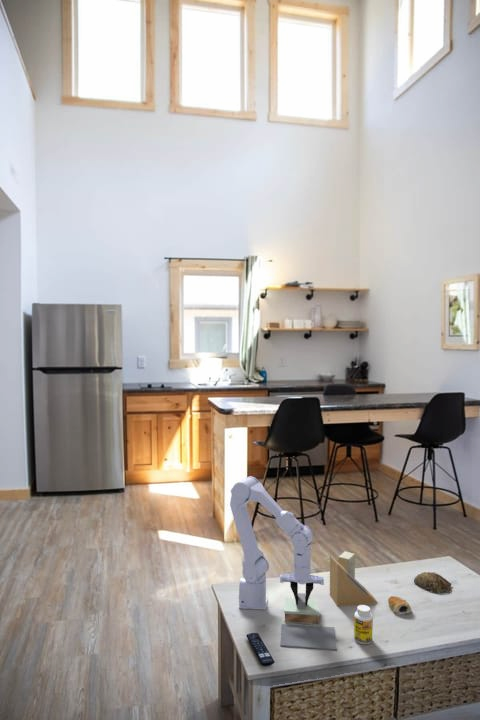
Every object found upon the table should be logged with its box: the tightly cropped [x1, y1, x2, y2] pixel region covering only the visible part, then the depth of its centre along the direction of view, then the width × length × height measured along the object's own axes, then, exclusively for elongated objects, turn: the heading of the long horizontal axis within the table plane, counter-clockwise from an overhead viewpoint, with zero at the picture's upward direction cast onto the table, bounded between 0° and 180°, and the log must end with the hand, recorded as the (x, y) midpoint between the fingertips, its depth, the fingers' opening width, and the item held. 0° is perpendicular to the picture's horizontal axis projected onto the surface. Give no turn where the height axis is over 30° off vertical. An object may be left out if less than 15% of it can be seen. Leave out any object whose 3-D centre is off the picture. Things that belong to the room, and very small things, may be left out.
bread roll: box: [413, 571, 452, 594], centre depth 202 cm, size 13×12×5 cm
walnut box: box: [284, 613, 319, 625], centre depth 180 cm, size 11×9×3 cm
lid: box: [283, 592, 320, 616], centre depth 179 cm, size 11×9×4 cm
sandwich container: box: [329, 555, 379, 607], centre depth 191 cm, size 9×15×15 cm, turn 99°
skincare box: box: [337, 550, 356, 579], centre depth 200 cm, size 6×4×12 cm
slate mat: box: [279, 623, 338, 651], centre depth 167 cm, size 17×12×1 cm
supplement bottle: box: [353, 604, 374, 645], centre depth 165 cm, size 6×6×10 cm
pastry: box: [387, 595, 412, 616], centre depth 185 cm, size 9×7×4 cm
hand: (301, 603), depth 179 cm, fingers closed on lid, 2 cm apart
